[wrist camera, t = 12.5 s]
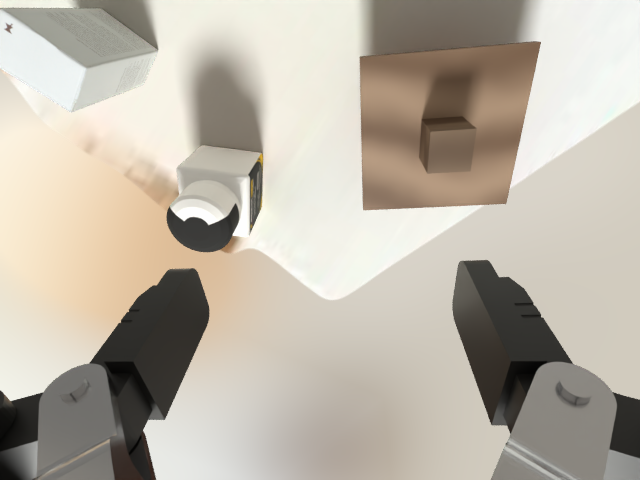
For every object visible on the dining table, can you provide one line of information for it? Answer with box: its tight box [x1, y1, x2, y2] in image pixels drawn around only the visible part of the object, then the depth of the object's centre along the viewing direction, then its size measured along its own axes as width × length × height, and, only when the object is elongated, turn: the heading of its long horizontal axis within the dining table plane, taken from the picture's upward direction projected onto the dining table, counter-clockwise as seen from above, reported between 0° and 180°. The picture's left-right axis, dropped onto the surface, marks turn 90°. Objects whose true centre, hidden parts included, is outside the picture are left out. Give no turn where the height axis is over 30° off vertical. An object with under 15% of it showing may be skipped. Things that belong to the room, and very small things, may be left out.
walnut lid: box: [360, 41, 541, 210], centre depth 31 cm, size 14×14×5 cm
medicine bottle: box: [167, 145, 263, 252], centre depth 37 cm, size 7×7×12 cm
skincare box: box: [0, 8, 158, 112], centre depth 30 cm, size 6×4×12 cm
